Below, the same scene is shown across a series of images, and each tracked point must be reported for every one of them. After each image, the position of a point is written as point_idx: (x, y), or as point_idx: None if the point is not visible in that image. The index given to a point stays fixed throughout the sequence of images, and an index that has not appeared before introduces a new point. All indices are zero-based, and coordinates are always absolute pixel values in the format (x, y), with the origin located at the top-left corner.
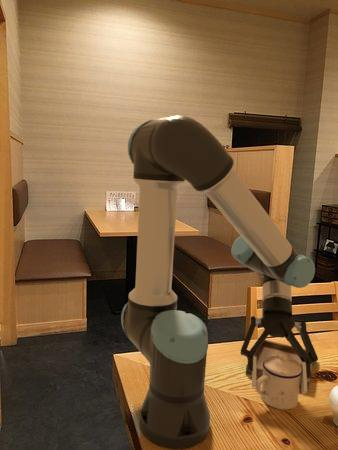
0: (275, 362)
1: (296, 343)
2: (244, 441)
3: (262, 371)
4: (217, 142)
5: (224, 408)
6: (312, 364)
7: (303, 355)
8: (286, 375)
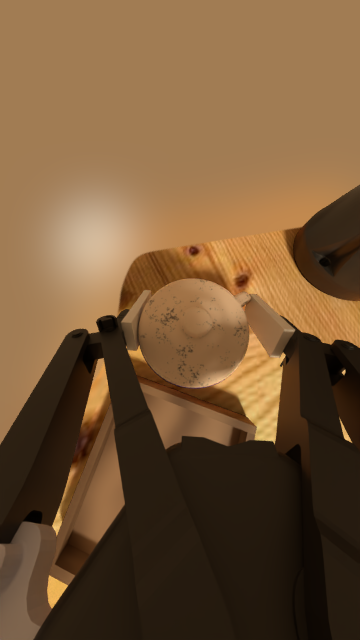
0: (220, 308)
1: (123, 379)
2: (245, 241)
3: (216, 410)
4: None
5: (277, 298)
6: (82, 478)
7: (116, 338)
8: (190, 278)
